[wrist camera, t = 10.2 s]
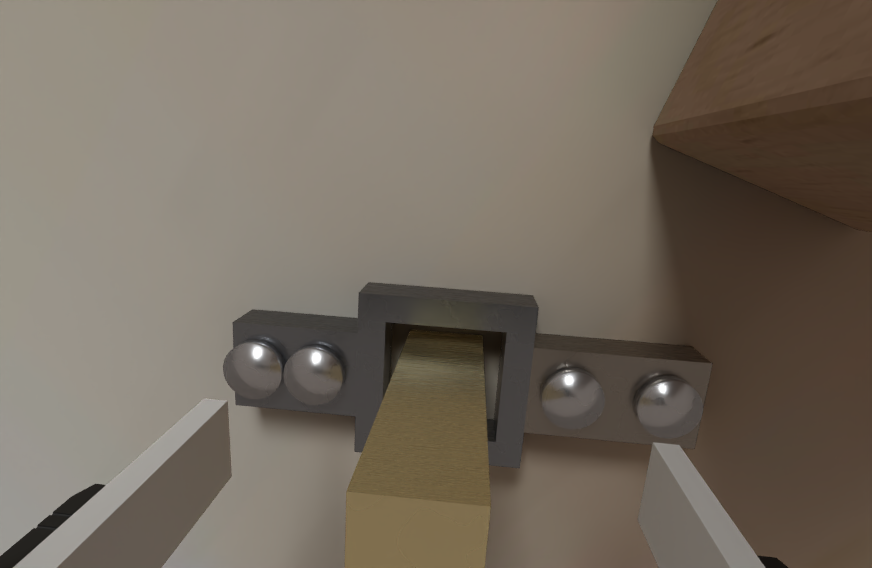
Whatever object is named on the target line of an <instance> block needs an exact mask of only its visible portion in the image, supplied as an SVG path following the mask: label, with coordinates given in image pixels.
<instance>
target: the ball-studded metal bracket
mask: <svg viewBox="0 0 872 568" xmlns="http://www.w3.org/2000/svg"><path fill="white" fill-rule="evenodd" d="M537 316H538V305H537V303H536V301H535V299H534V297H533V295H521V294H509V293H496V292H483V291H471V290H458V289H446V288H433V287H421V286H408V285H396V284H383V283H371V282H368V284H367V285H366V286H365V287H364V288H363V289H362V290H361V291H360V292H359V304H358V318H347V317H336V316H324V315H312V314H300V313H288V312H276V311H264V310H251V311H249V312H248V313H246V314H245V315H243V316H242V317H240V318H238V319H237V320H235V321H234V322H233V345H234V348H233V349H232V350H231V351H230V352H229V353H228V355H227V356H226V358H225V361H224V365H223V371H224V376H225V379H226V381H227V383H228V385H229V386H230V387H231V388H232V389H233V390H234V391H235V400H236V405H242V406H253V407H263V408H274V409H284V410H294V411H305V412H315V413H326V414H336V415H346V416H355V452H362V451H363V449H364V446H365V444H366V441H367V438H368V436H369V433H370V431H371V428H372V426H373V423H374V421H375V418H376V416H377V413H378V411H379V408H380V406H381V403H382V400H383V398H384V395H385V393H386V390H387V388H388V385H389V383H390V366H391V344H392V323H402V324H413V325H425V326H437V327H449V328H461V329H473V330H485V331H496V332H503V334H502V344H501V354H500V364H499V374H498V383H497V393H496V403H495V413H494V420H491V419H487V439H488V460H489V465H492V466H502V467H512V468H520V461H521V453H522V444H523V436H524V433H533V434H544V435H554V436H564V437H575V438H585V439H596V440H606V441H616V442H627V443H637V444H648V445H653V442H655V443H665V444H675V445H680V447H681V448H689V449H695V445H696V440H697V435H698V431H699V426H700V421H701V417H702V414H703V407H704V402H705V397H706V393H707V388H708V383H709V378H710V374H711V369H712V364H713V363H711V362H710V361H709V360H708V359H707V358H705V357H704V356H703V355H702V354H700V353H699V352H698V351H697V350H696V349H694V348H693V347H692V346H680V345H668V344H656V343H644V342H632V341H620V340H609V339H597V338H585V337H573V336H561V335H549V334H537V333H536V325H537Z"/></svg>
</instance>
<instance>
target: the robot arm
mask: <svg viewBox="0 0 872 568" xmlns="http://www.w3.org/2000/svg"><path fill="white" fill-rule="evenodd" d="M231 476H232V474H231V455H230V436H229V417H228V401H226V400H216V399H206V398H204V399H203V400H202V401H201V402H200V403H198V404H197V405H196V406H195V407H194V408H193V409H192V410H191V411H189V412H188V413H187V414H186V415H185V416H184V417H183V418H181V419H180V420H179V421H178V422H177V423H176V424H175V425H174V426H172V427H171V428H170V429H169V430H168V431H167V432H166V433H165V434H163V435H162V436H161V437H160V438H159V439H158V440H157V441H155V442H154V443H153V444H152V445H151V446H150V447H149V448H148V449H146V450H145V451H144V452H143V453H142V454H141V455H140V456H139V457H137V458H136V459H135V460H134V461H133V462H132V463H131V464H129V465H128V466H127V467H126V468H125V469H124V470H123V471H122V472H120V473H119V474H118V475H117V476H116V477H115V478H114V479H113V480H111V481H110V482H109V483H108V484H107V485H102V484H94V485H92V486H91V487H89V488H87V489H85V490H83V491H81V492H79V493H77V494H75V495H74V496H72V497H71V498H69V499H68V500H67V501H66V502H65V503H63V504H62V505H61V506H60V507H59V508H57V509H56V510H55V511H54V512H53V514H52V515H49V516H48V517H47V518H45V519H44V520H43V521H42V522H41V523H40V524H38V526H37V528H36V529H35V528H34V529H32V530H31V531H30V532H29V533H28V534H26V535H25V536H24V537H23V538H22V539H20V540H19V541H18V542H17V543H16V544H14V545H13V546H12V547H11V548H10V549H8V550H7V551H6V552H5V553H4V554H3V555H1V556H0V568H161V567H162V566H163V565H164V563H165V562H166V561H167V560H168V558H169V557H170V556H171V554H172V553H173V552H174V550H175V549H176V548H177V547H178V545H179V544H180V543H181V541H182V540H183V539H184V537H185V536H186V535H187V534H188V532H189V531H190V530H191V528H192V527H193V526H194V524H195V523H196V522H197V521H198V519H199V518H200V517H201V515H202V514H203V513H204V511H205V510H206V509H207V508H208V506H209V505H210V504H211V502H212V501H213V500H214V498H215V497H216V496H217V495H218V493H219V492H220V491H221V489H222V488H223V487H224V485H225V484H226V483H227V482H228V480H229V479H230V478H231ZM638 522H639V524H640V527H641V529H642V531H643V533H644V536H645V538H646V540H647V542H648V545H649V547H650V549H651V552H652V554H653V556H654V558H655V561H656V563H657V565H658V567H659V568H788V567H787V566H786V565H784V564H783V563H782V562H781V561H780V560H778V559H777V558H773V557H764V556H757V555H756V554H755V552H754V551H753V549H752V548H751V546H750V545H749V544H748V542H747V541H746V539H745V538H744V536H743V535H742V534H741V532H740V531H739V529H738V528H737V526H736V525H735V524H734V522H733V521H732V519H731V518H730V516H729V515H728V514H727V512H726V511H725V509H724V508H723V507H722V505H721V504H720V502H719V501H718V499H717V498H716V497H715V495H714V494H713V492H712V491H711V489H710V488H709V487H708V485H707V484H706V482H705V481H704V479H703V478H702V477H701V475H700V474H699V472H698V471H697V469H696V468H695V467H694V465H693V464H692V462H691V461H690V460H689V458H688V457H687V455H686V454H685V452H684V451H683V450H682V448H681V447H680V445H675V444H665V443H655V442H653V445H652V450H651V455H650V460H649V465H648V470H647V475H646V480H645V485H644V490H643V495H642V500H641V505H640V510H639V515H638Z"/></svg>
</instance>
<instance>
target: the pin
mask: <svg viewBox="0 0 872 568" xmlns="http://www.w3.org/2000/svg"><path fill="white" fill-rule="evenodd" d="M490 510H491V500H490V480H489V460H488V439H487V419H486V398H485V378H484V357H483V337H482V335H472V334H460V333H448V332H436V331H425V330H413V329H411V330H410V332H409V335H408V337H407V340H406V342H405V345H404V347H403V350H402V352H401V355H400V357H399V360H398V363H397V365H396V368H395V370H394V373H393V375H392V378H391V380H390V383H389V385H388V388H387V390H386V393H385V395H384V398H383V400H382V403H381V406H380V408H379V411H378V413H377V416H376V418H375V421H374V423H373V426H372V428H371V431H370V433H369V436H368V438H367V441H366V444H365V446H364V449H363V451H362V454H361V456H360V459H359V461H358V464H357V466H356V469H355V471H354V474H353V476H352V479H351V481H350V484H349V487H348V489H347V492H346V534H345V568H485V558H486V549H487V539H488V529H489V520H490Z"/></svg>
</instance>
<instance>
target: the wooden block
mask: <svg viewBox="0 0 872 568" xmlns="http://www.w3.org/2000/svg"><path fill="white" fill-rule="evenodd" d="M653 137H654V138H655V139H656V140H657V141H658V142H659V143H660V144H663V145H665V146H667V147H670V148H672V149H674V150H676V151H679V152H681V153H683V154H686V155H688V156H690V157H692V158H695V159H697V160H699V161H702V162H704V163H706V164H708V165H711V166H713V167H715V168H718V169H720V170H722V171H724V172H727V173H729V174H731V175H734V176H736V177H738V178H740V179H743V180H745V181H747V182H750V183H752V184H754V185H756V186H759V187H761V188H763V189H766V190H768V191H770V192H772V193H775V194H777V195H779V196H782V197H784V198H786V199H789V200H791V201H793V202H795V203H798V204H800V205H802V206H805V207H807V208H809V209H811V210H814V211H816V212H818V213H821V214H823V215H825V216H827V217H830V218H832V219H834V220H837V221H839V222H841V223H843V224H846V225H848V226H850V227H853V228H855V229H857V230H863V231H869V232H872V0H718V1H717V3H716V5H715V7H714V9H713V11H712V13H711V15H710V17H709V19H708V21H707V23H706V25H705V27H704V29H703V31H702V33H701V35H700V37H699V38H698V40H697V42H696V44H695V46H694V48H693V50H692V52H691V54H690V56H689V58H688V60H687V62H686V64H685V66H684V68H683V70H682V72H681V74H680V76H679V78H678V80H677V82H676V84H675V86H674V88H673V90H672V92H671V94H670V95H669V97H668V99H667V101H666V103H665V105H664V107H663V109H662V111H661V113H660V115H659V117H658V119H657V121H656V123H655V125H654V130H653Z"/></svg>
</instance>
